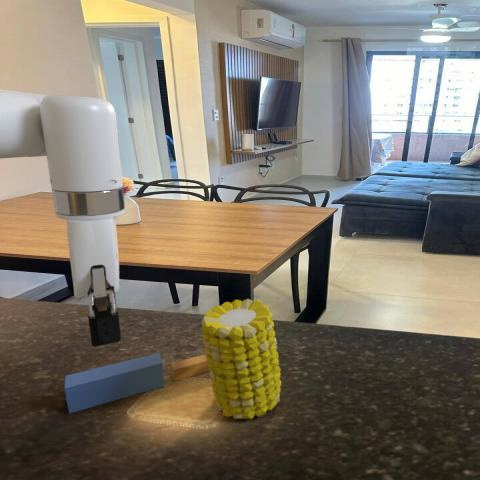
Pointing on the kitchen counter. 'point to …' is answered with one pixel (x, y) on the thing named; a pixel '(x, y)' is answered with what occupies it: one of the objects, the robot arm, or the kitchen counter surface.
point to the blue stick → (113, 382)
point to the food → (242, 358)
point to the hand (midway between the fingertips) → (105, 325)
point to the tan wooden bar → (189, 367)
